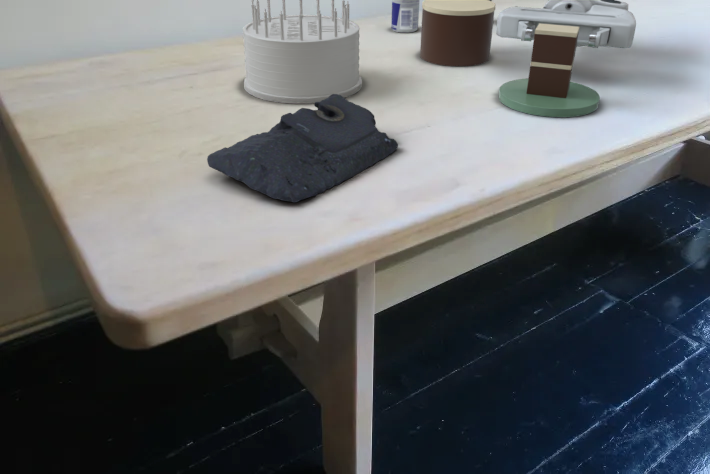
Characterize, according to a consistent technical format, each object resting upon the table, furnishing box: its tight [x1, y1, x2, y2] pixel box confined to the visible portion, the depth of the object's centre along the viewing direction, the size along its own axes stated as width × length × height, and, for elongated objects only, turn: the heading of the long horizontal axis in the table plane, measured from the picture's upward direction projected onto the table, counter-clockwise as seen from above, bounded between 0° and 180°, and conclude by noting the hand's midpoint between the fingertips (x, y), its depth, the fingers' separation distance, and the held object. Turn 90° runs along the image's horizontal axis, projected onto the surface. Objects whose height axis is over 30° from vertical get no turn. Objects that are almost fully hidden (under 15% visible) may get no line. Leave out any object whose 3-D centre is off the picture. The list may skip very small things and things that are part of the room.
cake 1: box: [242, 0, 363, 105], centre depth 99 cm, size 18×18×13 cm
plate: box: [498, 77, 601, 118], centre depth 95 cm, size 14×14×1 cm
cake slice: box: [527, 23, 580, 98], centre depth 93 cm, size 6×4×9 cm
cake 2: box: [419, 0, 496, 67], centre depth 114 cm, size 12×12×9 cm
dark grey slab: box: [206, 94, 399, 203], centre depth 76 cm, size 15×22×5 cm
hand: (559, 38), depth 96 cm, fingers open, 8 cm apart
